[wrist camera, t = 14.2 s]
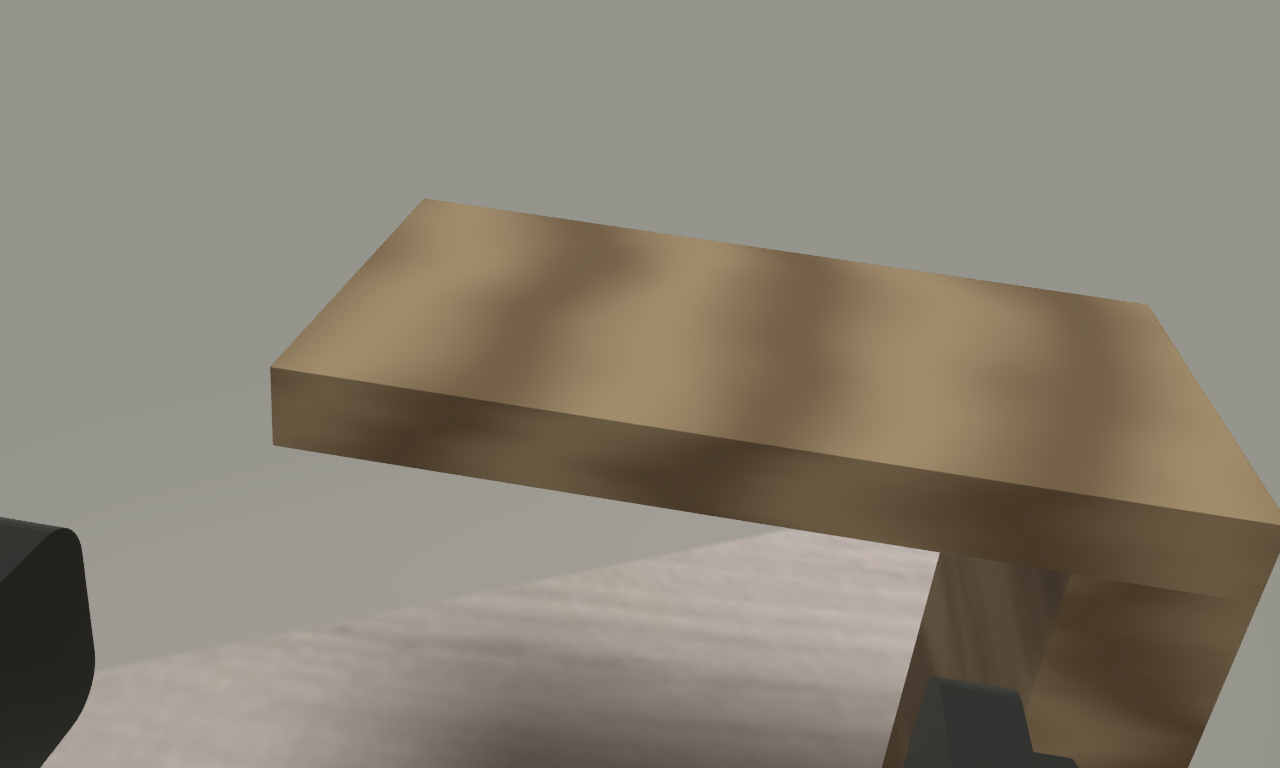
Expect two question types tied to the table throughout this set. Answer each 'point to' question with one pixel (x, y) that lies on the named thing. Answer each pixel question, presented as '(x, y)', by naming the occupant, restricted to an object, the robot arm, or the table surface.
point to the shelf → (832, 441)
